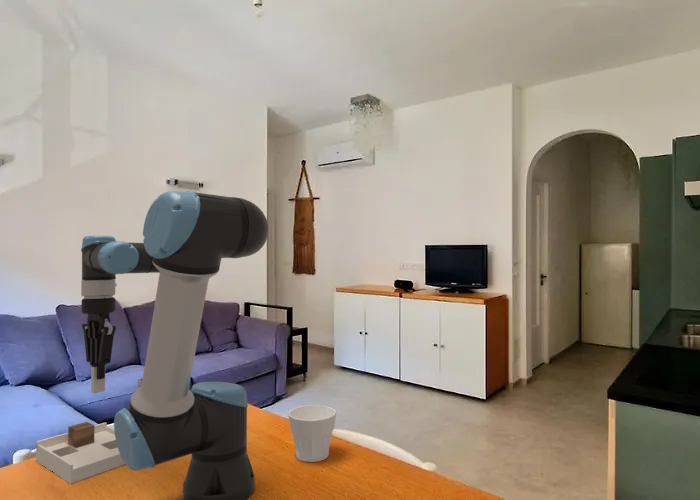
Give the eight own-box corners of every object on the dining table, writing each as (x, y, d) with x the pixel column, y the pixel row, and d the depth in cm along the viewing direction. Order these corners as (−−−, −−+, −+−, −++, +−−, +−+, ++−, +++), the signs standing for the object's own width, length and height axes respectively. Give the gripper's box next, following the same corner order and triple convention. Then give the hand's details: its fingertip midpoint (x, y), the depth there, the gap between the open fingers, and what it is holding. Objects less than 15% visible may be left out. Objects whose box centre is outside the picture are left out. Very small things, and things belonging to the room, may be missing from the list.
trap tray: (142, 458, 117) (142, 438, 117) (70, 483, 103) (70, 461, 103) (105, 440, 129) (105, 422, 129) (36, 461, 115) (36, 441, 115)
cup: (325, 469, 110) (325, 422, 111) (279, 461, 114) (279, 417, 115) (343, 449, 122) (342, 407, 122) (300, 443, 126) (300, 402, 126)
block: (94, 442, 120) (94, 425, 120) (75, 448, 116) (75, 430, 116) (86, 438, 122) (86, 421, 122) (68, 444, 119) (68, 426, 119)
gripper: (126, 297, 114) (126, 392, 113) (101, 295, 122) (101, 384, 121) (95, 298, 108) (94, 399, 107) (71, 297, 116) (70, 391, 115)
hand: (98, 391), depth 114 cm, fingers closed
